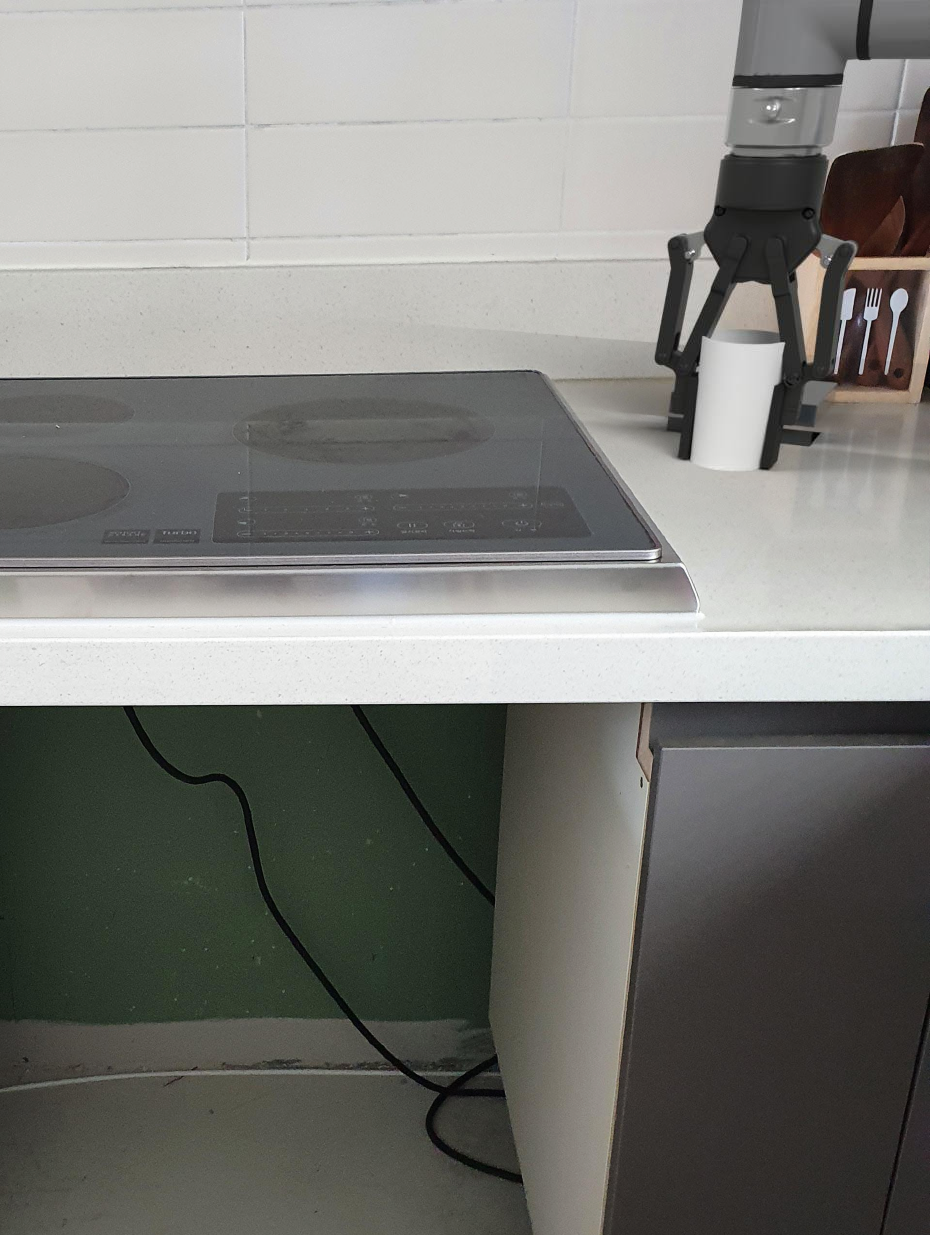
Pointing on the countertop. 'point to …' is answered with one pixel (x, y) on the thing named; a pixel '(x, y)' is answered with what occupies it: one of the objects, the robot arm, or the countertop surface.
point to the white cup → (735, 398)
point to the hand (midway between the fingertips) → (727, 458)
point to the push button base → (812, 410)
